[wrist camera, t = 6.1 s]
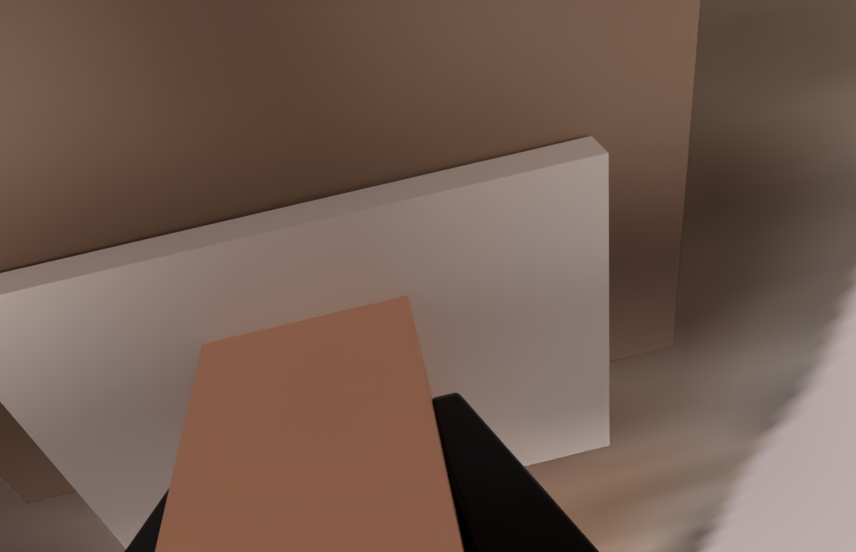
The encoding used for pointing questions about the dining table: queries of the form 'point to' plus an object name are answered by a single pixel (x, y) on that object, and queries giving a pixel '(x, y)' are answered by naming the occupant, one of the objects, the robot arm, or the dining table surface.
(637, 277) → the ticket board
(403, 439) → the stub
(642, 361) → the dining table surface
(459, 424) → the robot arm
